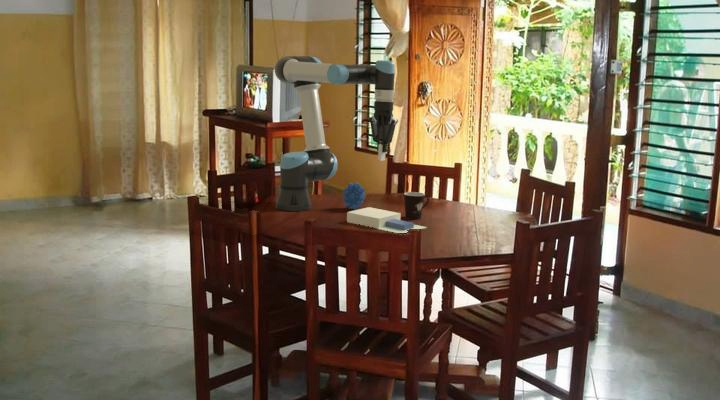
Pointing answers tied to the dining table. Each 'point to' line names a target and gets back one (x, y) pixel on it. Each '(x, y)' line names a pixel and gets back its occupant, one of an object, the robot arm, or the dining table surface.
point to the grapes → (354, 195)
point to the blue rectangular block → (399, 224)
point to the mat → (399, 229)
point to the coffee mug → (414, 204)
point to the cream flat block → (372, 217)
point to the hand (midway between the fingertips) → (381, 160)
